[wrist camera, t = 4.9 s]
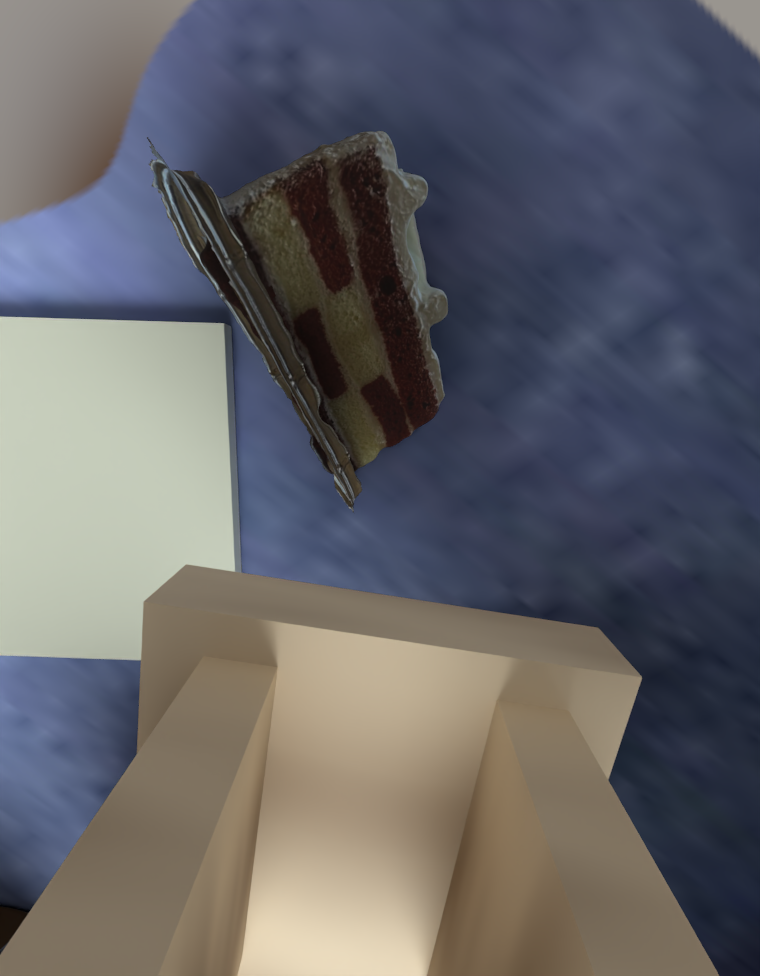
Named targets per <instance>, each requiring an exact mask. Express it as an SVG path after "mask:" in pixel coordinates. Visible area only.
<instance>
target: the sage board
mask: <svg viewBox="0 0 760 976" xmlns="http://www.w3.org/2000/svg"><path fill="white" fill-rule="evenodd" d="M186 564H188V565H194V566H201V567H207V568H214V569H220V570H227V571H233V572H240V573H242V571H241V546H240V522H239V498H238V474H237V450H236V426H235V402H234V378H233V353H232V329H231V326H229V325H227V324H224V323H198V322H164V321H131V320H97V319H64V318H30V317H0V655H5V656H33V657H61V658H90V659H118V660H141V648H142V625H143V603H144V601H145V600H146V599H147V598H148V597H149V596H151V595H152V594H153V593H154V592H155V591H156V590H157V589H159V588H160V587H161V586H162V585H163V584H164V583H165V582H167V581H168V580H169V579H170V578H171V577H172V576H173V575H175V574H176V573H177V572H178V571H179V570H180V569H181V568H182V567H184V566H185V565H186Z"/></svg>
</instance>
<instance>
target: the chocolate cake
mask: <svg viewBox="0 0 760 976" xmlns="http://www.w3.org/2000/svg"><path fill="white" fill-rule="evenodd" d="M147 139H148V137H147ZM148 140H149V139H148ZM149 142H150V144H151V147H150V146H149V147H150V148H151V149H152V150H153V151H152V150H151V151H152V153H153V154H154V155H155V156H156V157H157V158H158V159H157V160H156V161H155V160H152V161H151V163H150V164H149V165H150V166H151V170H152V171H154V181H153V184H152V186H153V187H155V188H157V189H158V192H159V193H161V194H162V197H163V199H162V198H161V199H162V201H163V203H164V205H165V208H166V211H167V216H168V218H169V219H170V220H171V221H172V223H173V226H174V228H175V230H176V232H177V233H176V234H177V235H178V237H179V240H180V242H181V244H182V245H183V247H184V249H185V250H186V251H187V253H188V254H189V257H190V258H191V259H192V261H193V264H194V265H195V267H196V268H197V269H198V270H199V271H200V272H202V273H203V274H204V275H205V276H206V277H207V278H208V279H209V280H210V281H211V283H212V284H213V286H214V288H215V289H216V292H217V293H218V295H219V296H220V297H221V299H222V300H223V301H224V303H225V304H226V305H227V306H228V308H229V309H230V311H231V312H232V313H233V315H234V317H235V318H236V320H237V322H238V323H239V325H240V326H241V327H242V329H243V331H244V333H245V334H246V336H247V338H248V340H249V341H250V342H251V343H252V344H253V345H254V346H255V347H256V348H257V349H258V351H260V353H261V354H262V355H263V358H262V359H263V362H264V363H265V365H266V366H267V368H268V372H269V373H270V374H271V376H272V378H273V380H274V382H275V383H277V384H278V385H279V386H280V387H281V388H282V389H283V390H284V392H285V394H286V395H287V398H289V399H291V400H292V404H293V406H294V409H295V411H296V413H297V414H298V416H299V418H300V420H301V421H302V422H303V423H304V425H305V426H306V427H307V430H308V432H309V434H310V435H311V440H310V445H311V448H312V449H313V451H314V452H315V454H316V455H317V457H318V459H319V460H320V461H321V463H322V465H323V468H324V469H325V470H326V471H327V472H329V473H331V474H334V480H335V481H334V483H335V488H336V490H337V492H338V493H339V494H340V495H341V496H342V498H343V500H344V502H345V503H346V504H347V505H348V506H349V508H350V509H352V511H353V513H354V509H353V505H354V500H355V498H356V497H357V496H358V495H359V493H360V492H361V491H362V487H361V482H360V481H359V480H358V478H357V477H356V475H355V471H356V470H357V469H358V468H360V467H363V466H365V465H366V464H367V463H369V462H371V461H373V460H374V459H375V458H376V457H377V455H378V453H379V451H380V450H381V449H383V448H385V447H391V446H394V445H396V444H398V443H399V442H401V441H402V440H403V439H404V438H406V437H409V436H410V435H411V434H412V432H413V431H414V430H415V429H417V428H418V427H420V426H422V425H424V424H425V423H427V422H428V421H430V420H431V419H432V418H433V417H434V416H435V414H436V413H437V411H438V408H439V404H440V402H441V401H442V400H443V398H444V396H445V394H444V391H443V384H442V380H441V372H440V365H439V360H438V357H437V354H436V353H435V351H434V350H433V349H432V346H431V340H430V327H431V326H432V325H434V324H435V323H438V322H440V321H441V320H443V319H444V318H445V316H446V315H447V313H448V302H447V297H446V295H445V293H444V292H443V291H442V290H440V289H437V288H433V287H430V285H429V284H428V283H427V279H426V267H425V262H424V257H423V254H422V250H421V246H420V241H419V235H418V231H417V227H416V220H415V216H414V212H415V211H416V210H417V209H418V208H419V207H421V206H422V205H423V203H424V202H425V200H426V197H427V193H428V185H427V182H426V181H425V179H424V178H422V177H420V176H418V175H414V174H410V173H406V172H405V173H404V171H403V170H402V169H398V166H397V159H396V152H395V149H394V146H393V144H392V141H391V139H390V138H389V136H388V135H387V134H386V133H385V132H383V131H377V132H372V131H370V132H361V133H358V134H356V135H354V136H350V137H347V138H345V139H344V140H342V141H339V142H336V143H333V144H331V145H325V144H323V145H321V146H319V147H318V148H317V149H316V150H315V151H313V152H311V153H309V154H306V155H304V156H302V157H301V158H300V159H297V160H295V161H293V162H292V163H291V164H289V165H288V166H286V167H283V168H281V169H279V170H277V171H274V172H271V173H269V174H266V175H264V176H262V177H260V178H258V179H257V180H255V181H252V182H250V183H247V184H246V185H244V186H243V187H242V188H241V189H239V190H237V191H236V192H233V193H232V194H230V195H228V196H225V197H223V198H220V197H218V196H217V195H215V193H214V191H213V189H212V188H211V187H210V186H209V185H208V184H207V183H206V182H204V181H202V180H201V179H200V177H199V176H198V174H197V173H196V172H194V171H184V172H182V171H178V170H170V169H169V167H168V166H167V164H166V163H165V161H164V160H163V158H162V157H161V156H160V155H159V154H158V152H157V151H156V150H155V148H154V146H153V145H152V143H151V141H150V140H149Z"/></svg>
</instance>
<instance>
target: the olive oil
mask: <svg viewBox="0 0 760 976" xmlns="http://www.w3.org/2000/svg"><path fill="white" fill-rule="evenodd" d="M27 915H28V912H25V911H21V910H18V909H13V908H8V907H1V906H0V949H2V948H3V947H4V946H5V945H6V944H7V943H8V942H9V941H10V940H11V938H12V937H13V935H14V934H15V932H16V931H17V929H18V928H19V926H20V925H21V924H22V922H23V921H24V919H25V918H26V916H27Z"/></svg>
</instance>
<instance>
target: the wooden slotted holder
mask: <svg viewBox="0 0 760 976" xmlns="http://www.w3.org/2000/svg"><path fill="white" fill-rule="evenodd" d="M641 680H642V676H641V675H640V674H639V673H638V672H637V671H636V670H635V669H634V667H633V666H632V665H631V664H630V663H629V662H628V661H627V660H626V658H625V657H624V656H623V655H622V654H621V653H620V652H619V651H618V649H617V648H616V647H615V646H614V645H613V644H612V643H611V642H610V640H609V639H608V638H607V637H606V636H605V635H604V634H603V633H602V631H601V630H600V629H599V628H597V627H590V626H584V625H577V624H571V623H564V622H558V621H551V620H545V619H538V618H532V617H525V616H519V615H512V614H506V613H499V612H493V611H486V610H480V609H473V608H467V607H460V606H454V605H447V604H441V603H434V602H428V601H421V600H415V599H408V598H402V597H395V596H389V595H382V594H376V593H369V592H363V591H356V590H350V589H343V588H337V587H330V586H324V585H317V584H311V583H304V582H298V581H291V580H285V579H278V578H272V577H266V576H259V575H253V574H246V573H240V572H233V571H227V570H220V569H214V568H207V567H201V566H194V565H188V564H186V565H185V566H184V567H182V568H181V569H180V570H179V571H178V572H177V573H176V574H175V575H173V576H172V577H171V578H170V579H169V580H168V581H167V582H165V583H164V584H163V585H162V586H161V587H160V588H159V589H157V590H156V591H155V592H154V593H153V594H152V595H151V596H149V597H148V598H147V599H146V600H145V601H144V603H143V625H142V648H141V670H140V693H139V715H138V738H137V755H136V756H135V758H134V759H133V761H132V762H131V764H130V765H129V767H128V768H127V769H126V771H125V772H124V774H123V775H122V777H121V778H120V780H119V781H118V783H117V784H116V786H115V787H114V789H113V790H112V791H111V793H110V794H109V796H108V797H107V799H106V800H105V802H104V803H103V805H102V806H101V808H100V809H99V811H98V812H97V813H96V815H95V816H94V818H93V819H92V821H91V822H90V824H89V825H88V827H87V828H86V830H85V831H84V833H83V834H82V836H81V837H80V838H79V840H78V841H77V843H76V844H75V846H74V847H73V849H72V850H71V852H70V853H69V855H68V856H67V858H66V859H65V860H64V862H63V863H62V865H61V866H60V868H59V869H58V871H57V872H56V874H55V875H54V877H53V878H52V880H51V881H50V882H49V884H48V885H47V887H46V888H45V890H44V891H43V893H42V894H41V896H40V897H39V899H38V900H37V902H36V903H35V904H34V906H33V907H32V909H31V910H30V912H29V913H28V915H27V916H26V918H25V919H24V921H23V922H22V924H21V925H20V926H19V928H18V929H17V931H16V932H15V934H14V935H13V937H12V938H11V940H10V941H9V943H8V944H7V946H6V947H5V948H4V950H3V951H2V953H1V954H0V976H719V975H718V973H717V971H716V969H715V968H714V966H713V964H712V962H711V960H710V959H709V957H708V955H707V953H706V952H705V950H704V948H703V946H702V945H701V943H700V941H699V939H698V938H697V936H696V934H695V932H694V931H693V929H692V927H691V925H690V924H689V922H688V920H687V918H686V916H685V915H684V913H683V911H682V909H681V908H680V906H679V904H678V902H677V901H676V899H675V897H674V895H673V894H672V892H671V890H670V888H669V887H668V885H667V883H666V881H665V879H664V878H663V876H662V874H661V872H660V871H659V869H658V867H657V865H656V864H655V862H654V860H653V858H652V857H651V855H650V853H649V851H648V850H647V848H646V846H645V844H644V842H643V841H642V839H641V837H640V835H639V834H638V832H637V830H636V828H635V827H634V825H633V823H632V821H631V820H630V818H629V816H628V814H627V813H626V811H625V809H624V807H623V806H622V804H621V802H620V800H619V798H618V797H617V795H616V793H615V791H614V790H613V788H612V786H611V784H610V783H609V781H608V779H609V776H610V773H611V770H612V767H613V764H614V761H615V758H616V755H617V752H618V749H619V746H620V743H621V740H622V737H623V734H624V731H625V728H626V725H627V722H628V719H629V716H630V713H631V710H632V707H633V704H634V701H635V698H636V695H637V692H638V689H639V686H640V683H641Z"/></svg>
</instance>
